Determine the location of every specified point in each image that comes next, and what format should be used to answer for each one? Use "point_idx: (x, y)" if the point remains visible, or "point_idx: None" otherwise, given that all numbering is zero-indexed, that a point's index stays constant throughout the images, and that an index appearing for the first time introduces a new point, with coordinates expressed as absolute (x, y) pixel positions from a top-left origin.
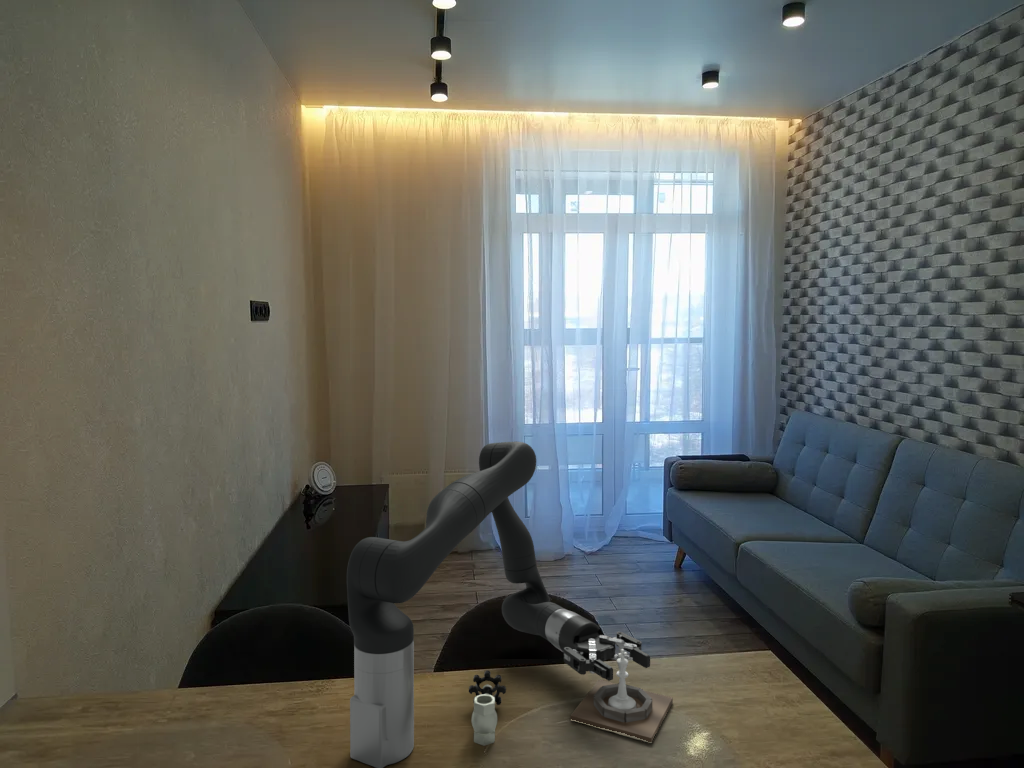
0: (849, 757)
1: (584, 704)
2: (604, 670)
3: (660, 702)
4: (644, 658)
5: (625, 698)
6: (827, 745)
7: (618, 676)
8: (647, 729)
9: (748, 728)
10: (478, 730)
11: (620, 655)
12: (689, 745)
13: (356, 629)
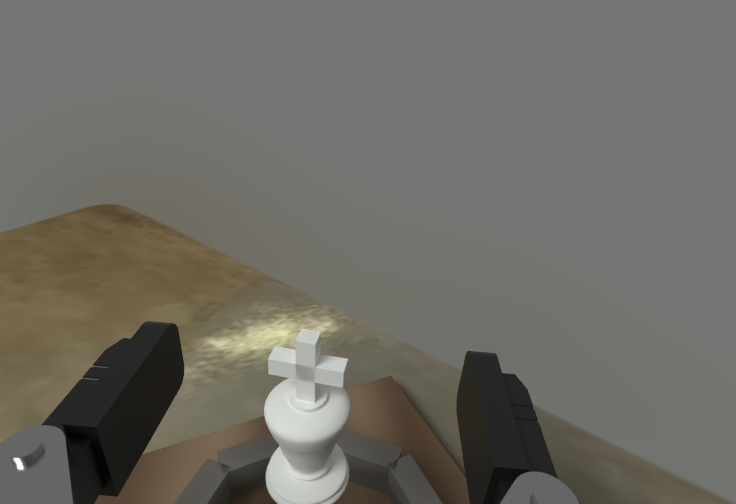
0: (125, 209)
1: None
2: (519, 380)
3: (146, 485)
4: (166, 352)
5: None
6: (101, 227)
7: (348, 469)
8: (365, 405)
9: (118, 302)
10: None
11: (337, 362)
12: None
13: None
